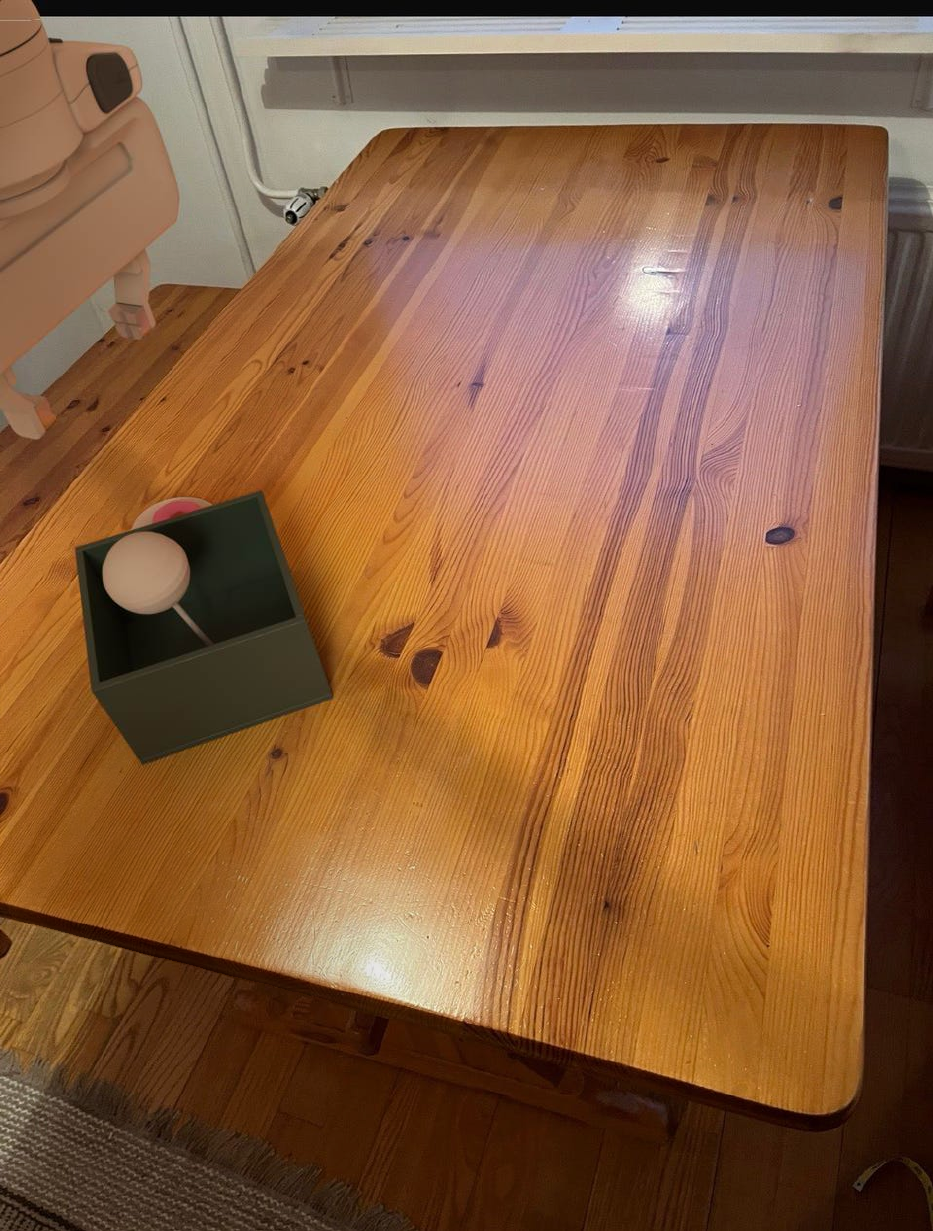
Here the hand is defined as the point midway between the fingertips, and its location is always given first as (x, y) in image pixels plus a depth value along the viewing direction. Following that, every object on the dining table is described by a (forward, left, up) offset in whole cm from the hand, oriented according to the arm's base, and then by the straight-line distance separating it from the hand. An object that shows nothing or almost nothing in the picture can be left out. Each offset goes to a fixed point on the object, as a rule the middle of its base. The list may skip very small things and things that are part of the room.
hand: (91, 379), depth 52 cm
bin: (+2, +3, -30) cm, 30 cm away
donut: (+13, +16, -30) cm, 36 cm away
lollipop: (+2, +3, -29) cm, 29 cm away
